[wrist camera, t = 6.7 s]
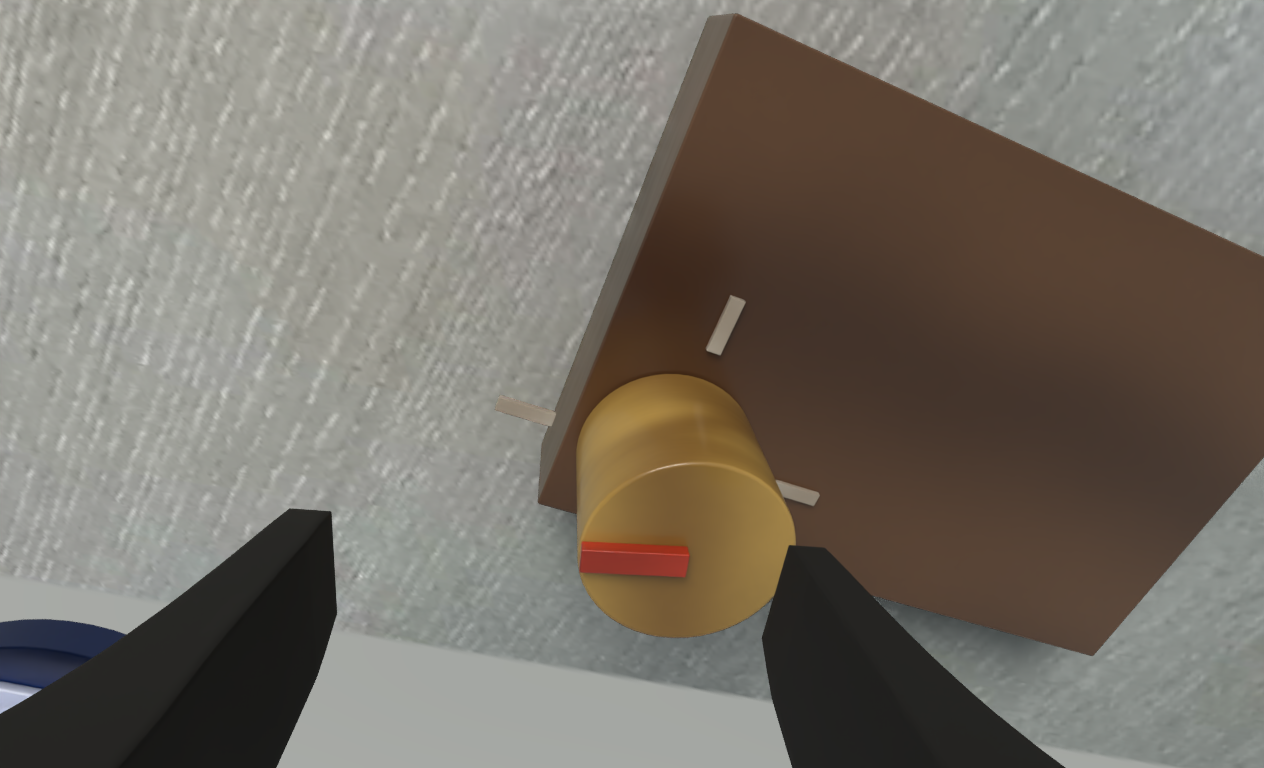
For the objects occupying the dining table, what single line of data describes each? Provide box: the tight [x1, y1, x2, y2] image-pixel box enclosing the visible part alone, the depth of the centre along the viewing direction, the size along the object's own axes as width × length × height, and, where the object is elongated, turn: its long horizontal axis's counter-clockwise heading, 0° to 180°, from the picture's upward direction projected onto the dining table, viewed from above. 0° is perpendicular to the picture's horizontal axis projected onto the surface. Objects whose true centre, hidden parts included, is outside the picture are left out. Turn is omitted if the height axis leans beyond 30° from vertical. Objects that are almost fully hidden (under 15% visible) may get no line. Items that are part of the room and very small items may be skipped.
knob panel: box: [495, 13, 1264, 656], centre depth 20 cm, size 14×20×3 cm
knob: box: [576, 374, 796, 638], centre depth 16 cm, size 4×4×4 cm
